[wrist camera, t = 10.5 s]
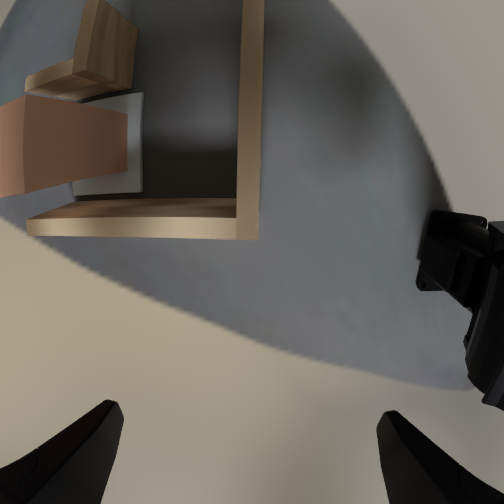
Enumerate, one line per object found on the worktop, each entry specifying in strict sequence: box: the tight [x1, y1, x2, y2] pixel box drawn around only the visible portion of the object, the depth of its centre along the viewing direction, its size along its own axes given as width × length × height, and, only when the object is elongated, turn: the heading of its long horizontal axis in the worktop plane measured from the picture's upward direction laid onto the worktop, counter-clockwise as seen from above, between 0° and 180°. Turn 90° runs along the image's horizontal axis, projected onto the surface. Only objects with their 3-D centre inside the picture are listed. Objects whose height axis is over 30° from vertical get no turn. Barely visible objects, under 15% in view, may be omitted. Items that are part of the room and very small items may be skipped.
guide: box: [25, 0, 264, 240], centre depth 14 cm, size 14×14×6 cm
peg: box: [0, 95, 128, 197], centre depth 12 cm, size 4×4×10 cm
